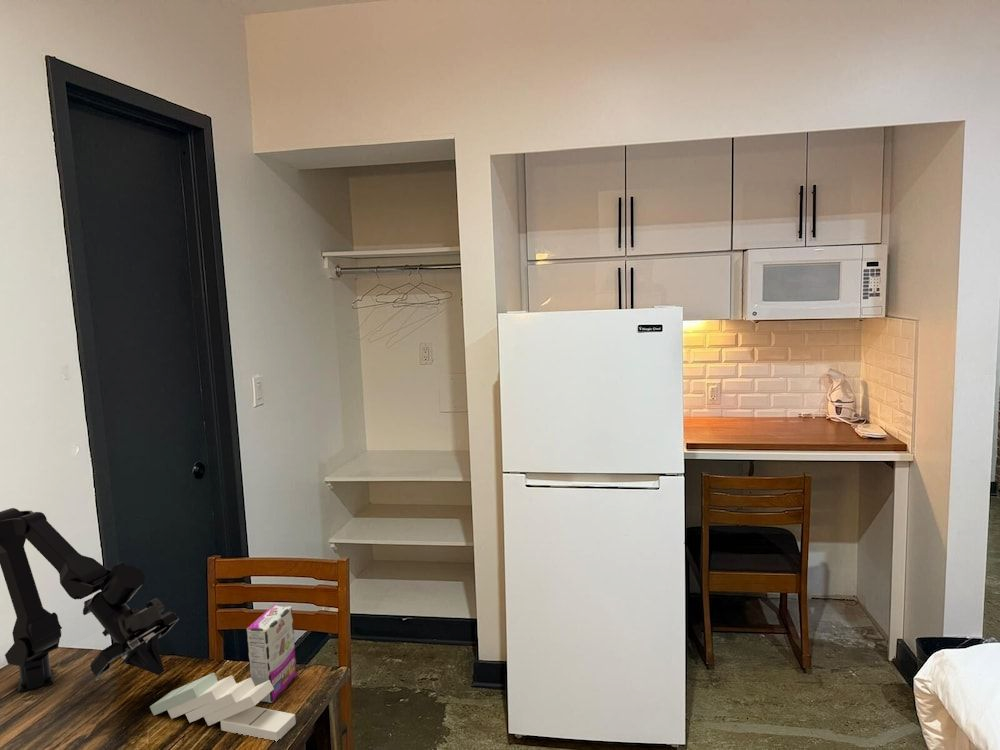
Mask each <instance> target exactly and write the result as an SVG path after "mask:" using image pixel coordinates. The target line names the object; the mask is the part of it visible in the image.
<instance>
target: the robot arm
mask: <svg viewBox="0 0 1000 750" xmlns="http://www.w3.org/2000/svg"><path fill="white" fill-rule="evenodd" d="M26 541H28V542H29V544H31V545H32V546H33V548H35V549H36V550H37V551H38V553H40V554H41V555H42V556H43V557H44V558H45V560H47V562H48V563H50V565H51V566H52V567H53V568H54V569H55V570H56V572H57V573H58V575H59V576H58V577H59V583H60V586H62V588H63V590H64V591H65V592H66V593H67V595H68V596H69V597H70V598H71V599H73V600H82V599H85V598H86V597H88V596H90V595H93V594H94V595H93V596H92V597H91V598H88V599H87V600H85V601H84V602H83V608H82V614H83V616H86V615H88V614H91V613H92V615H93V616H94V618H96V619H97V621H98V622H99V624H100V625H101V626H102V627H103V628H104V630H103V631H102V633H101V634H102V635H103V636H104V637H107V636H110V638H112V640H113V642H114V643H112V644H110V645H109V646H107V647H106V648H103V649H102V650H101V651H100V652H98V654H97V655H96V656H95V658H94V659H93V660H92V661H91V663H90V670H91V672H92V673H93V675H94V676H95V677H99V676H100V675H103V674H104V672H106V671H108V670H109V669H110V665H111V664H110V663H111V662H113V661H115V660H117V659H118V658H120V657H121V658H122V659H123V660H122V662H120V664H121V666H124V665H129V666H132V667H136V668H139V669H141V670H144V671H147V672H150V673H152V674H155V675H157V676H161V675H163V673H164V672H165V668H164V665H163V662H162V658H161V655H160V649H159V644H158V643H159V639H160V638H162V637H164V636H165V635H166V634H167V633H169V631H170V630H171V629H172V628H173V627H174V625H175V624H176V623H177V622H178V621H179V620H180V618H179V617H178V616H177V615H176V613H175V612H173V611H167V612H165V606H164V604H163V602H162V601H161V600H160V599H159V598H158V597H156V598H153V599H151V600H150V601H148V602H146V603H145V606H146V607H145V608H143V609H141V610H139V608H137V607H135V606H133V607H131V608H130V607H129V605H127V603H128V602H130V601H131V600H132V597H134V595H135V594H136V593H137V592H138V590H140V588H141V587H142V586H143V585H144V583H145V580H146V579H145V577H146V576H145V573H144V572H143V570H142V569H140V568H138V567H136V566H133V565H129V564H128V565H126V564H125V562H124V561H120V562H118V563H116V564H114V565H113V566H112V568H107V567H105V566H104V565H103V564H102V563H100V562H99V561H97V560H96V559H95V558H93V557H89V556H86V555H82V554H81V553H79V551H77V550H76V549H75V548H74V547H73V546H72V544H70V542H68V541H67V539H66V538H64V537H63V536H62V535H61V534H60V533H59V531H57V529H56V528H54V526H53V525H52V524H51V523H50V522H49V521H48V519H47V516H46V515H45V513H43V512H42V511H35V512H34V511H33V510H19V509H18V508H15V507H11V508H7V509H4V510H2V511H0V568H1V571H2V574H3V577H4V581H5V585H6V587H7V590H8V594H9V596H10V601H11V604H12V606H13V609H14V612H15V616H16V619H15V622H14V626H13V629H12V634H11V635H12V638H13V644H12V645H11V646H10V648H9V649H8V650H7V652H6V653H5V654H4V657H5V660H6V662H7V664H8V665H12V666H18V672H19V678H18V687H17V692H18V693H22V691H23V692H26V691H30V690H33V689H37V688H40V687H45V686H48V685H52V684H54V669H51V664H50V663H51V662H50V652H52V651H54V650H57V649H58V648H59V644H60V640H61V637H62V628H63V627H62V626H61V623H60V622H59V617H58V614H57V613H56V612H52V613H51V612H50V611H48V610H47V609H45V608H44V607H43V604H42V603H43V602H42V600H41V597H40V594H39V591H38V588H37V584H36V582H35V578H34V575H33V571H32V568H31V565H30V561H29V559H28V557H27V556H28V555H27V553H26V549H25V543H26ZM163 612H164V614H161V613H163ZM29 689H30V690H29Z"/></svg>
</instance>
